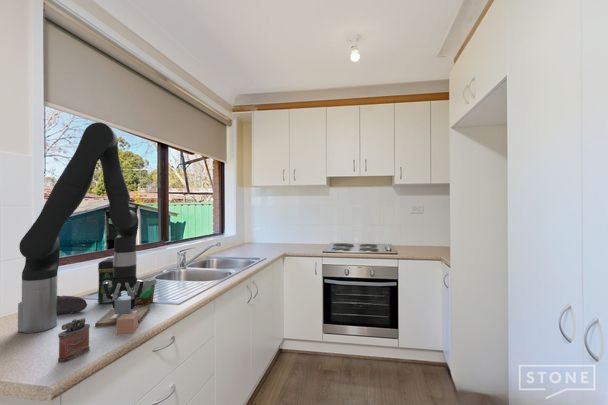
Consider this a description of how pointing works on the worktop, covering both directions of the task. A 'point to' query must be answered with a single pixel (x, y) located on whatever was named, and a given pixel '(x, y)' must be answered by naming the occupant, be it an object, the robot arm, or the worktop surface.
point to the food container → (145, 293)
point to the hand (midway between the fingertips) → (124, 308)
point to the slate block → (123, 305)
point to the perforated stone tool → (70, 304)
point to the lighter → (73, 340)
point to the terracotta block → (127, 324)
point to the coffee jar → (105, 280)
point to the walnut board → (111, 317)
